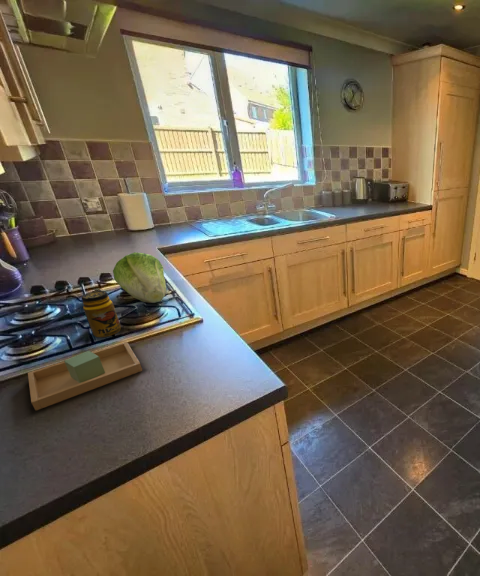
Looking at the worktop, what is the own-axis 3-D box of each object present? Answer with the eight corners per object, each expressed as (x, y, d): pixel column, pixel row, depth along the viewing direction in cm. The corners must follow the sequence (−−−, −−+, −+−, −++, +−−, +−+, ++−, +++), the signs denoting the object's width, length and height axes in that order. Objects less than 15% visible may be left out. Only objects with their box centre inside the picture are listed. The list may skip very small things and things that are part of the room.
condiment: (115, 339, 88) (101, 299, 83) (78, 342, 86) (62, 301, 81) (128, 325, 94) (116, 287, 89) (95, 328, 92) (80, 289, 88)
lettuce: (184, 307, 111) (133, 324, 103) (164, 276, 126) (118, 288, 117) (172, 272, 103) (116, 287, 95) (153, 243, 118) (103, 253, 109)
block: (81, 384, 71) (73, 367, 69) (71, 377, 73) (63, 360, 71) (105, 372, 74) (99, 356, 72) (95, 366, 76) (88, 350, 74)
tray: (36, 412, 64) (31, 402, 63) (32, 382, 72) (27, 372, 71) (143, 372, 76) (140, 363, 75) (129, 350, 84) (126, 341, 82)
